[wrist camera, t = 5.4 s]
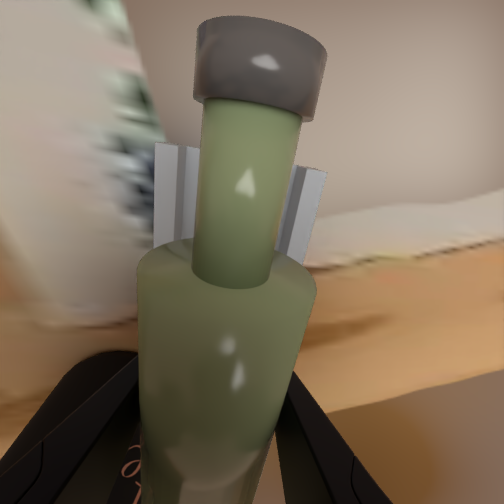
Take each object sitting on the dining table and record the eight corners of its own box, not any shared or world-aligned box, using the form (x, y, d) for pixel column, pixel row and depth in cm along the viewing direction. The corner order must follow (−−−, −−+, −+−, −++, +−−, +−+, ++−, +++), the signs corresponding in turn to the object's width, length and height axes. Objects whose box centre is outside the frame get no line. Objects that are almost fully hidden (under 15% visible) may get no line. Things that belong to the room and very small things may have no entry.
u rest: (274, 328, 23) (280, 356, 20) (161, 317, 21) (149, 345, 18) (314, 168, 17) (330, 172, 14) (167, 142, 16) (151, 141, 13)
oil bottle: (253, 417, 12) (261, 553, 8) (160, 412, 12) (119, 555, 8) (332, 95, 7) (467, 24, 3) (170, 61, 6) (57, -83, 2)
